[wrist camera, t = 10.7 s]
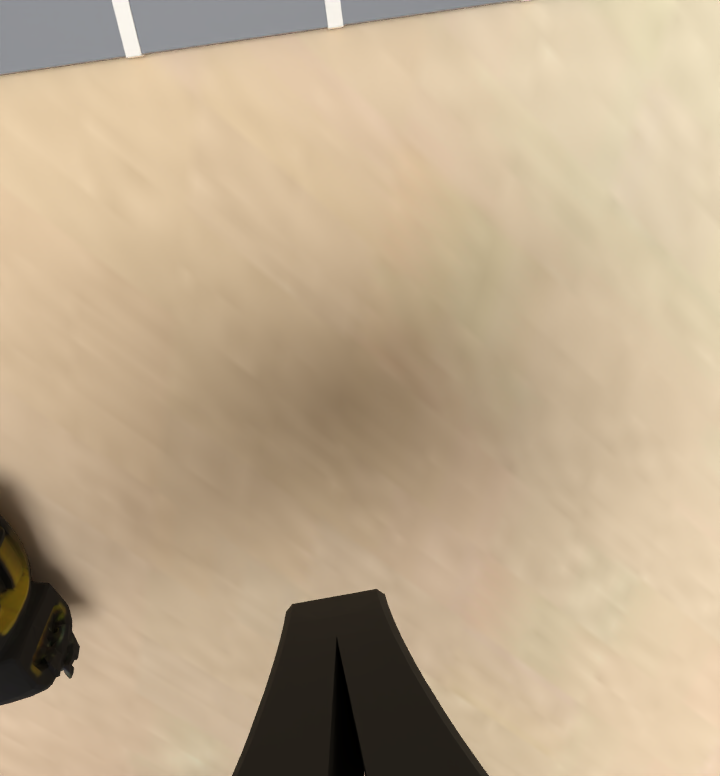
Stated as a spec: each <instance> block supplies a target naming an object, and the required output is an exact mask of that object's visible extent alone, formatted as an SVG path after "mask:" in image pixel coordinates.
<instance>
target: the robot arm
mask: <svg viewBox="0 0 720 776" xmlns="http://www.w3.org/2000/svg"><path fill="white" fill-rule="evenodd" d="M364 773H365V776H489V775H488V774H487V773H486V771H485V770H484V769H483V767H482V766H481V764H480V763H479V761H478V760H477V759H476V757H475V756H474V754H473V753H472V752H471V750H470V749H469V747H468V746H467V745H466V743H465V742H464V740H463V739H462V737H461V736H460V734H459V733H458V731H457V730H456V728H455V727H454V725H453V724H452V722H451V721H450V719H449V718H448V716H447V715H446V713H445V712H444V710H443V708H442V707H441V705H440V703H439V702H438V700H437V699H436V697H435V695H434V694H433V692H432V691H431V689H430V687H429V686H428V684H427V683H426V681H425V679H424V678H423V676H422V674H421V672H420V671H419V669H418V667H417V665H416V664H415V662H414V660H413V658H412V656H411V654H410V652H409V650H408V648H407V647H406V645H405V643H404V641H403V639H402V637H401V635H400V633H399V630H398V628H397V626H396V624H395V622H394V619H393V617H392V614H391V612H390V609H389V606H388V604H387V600H386V597H385V594H384V593H382V592H380V591H379V590H377V589H374V590H368V591H363V592H357V593H352V594H346V595H341V596H335V597H330V598H324V599H318V600H313V601H307V602H302V603H296V604H292V605H291V607H290V608H289V609H288V610H287V611H286V615H285V620H284V625H283V630H282V634H281V638H280V642H279V646H278V649H277V653H276V656H275V660H274V663H273V666H272V669H271V673H270V676H269V679H268V682H267V685H266V688H265V691H264V694H263V697H262V700H261V702H260V705H259V708H258V711H257V713H256V716H255V719H254V722H253V724H252V727H251V730H250V733H249V736H248V738H247V741H246V743H245V746H244V749H243V751H242V754H241V756H240V758H239V761H238V763H237V765H236V768H235V770H234V772H233V775H232V776H364Z"/></svg>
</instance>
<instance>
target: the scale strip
mask: <svg viewBox="0 0 720 776" xmlns="http://www.w3.org/2000/svg"><path fill="white" fill-rule="evenodd" d="M511 1H518V0H0V75H6V74H13V73H20V72H27V71H34V70H40V69H47V68H54V67H61V66H68V65H75V64H82V63H89V62H96V61H103V60H110V59H117V58H123V57H126V58H135V57H142V56H145V54H151V53H158V52H165V51H172V50H179V49H186V48H193V47H200V46H207V45H213V44H220V43H227V42H234V41H241V40H248V39H255V38H262V37H269V36H276V35H283V34H290V33H296V32H303V31H310V30H317V29H324V28H327V30H329V29H336V28H342V27H343V26H345V25H352V24H359V23H366V22H373V21H380V20H386V19H393V18H400V17H407V16H414V15H421V14H428V13H435V12H442V11H449V10H456V9H463V8H469V7H476V6H483V5H490V4H497V3H504V2H511ZM523 1H530V0H521V2H523Z"/></svg>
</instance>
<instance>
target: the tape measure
mask: <svg viewBox="0 0 720 776" xmlns="http://www.w3.org/2000/svg"><path fill="white" fill-rule="evenodd" d="M79 648H80V646H79V644H78V642H77V640H76V638H75V636H74V634H73V632H72V618H71V614H70V610H69V607H68V605H67V604H66V602H65V601H64V600H63V599H62V597H61V596H60V595H59V594H58V593H57V591H56V590H55V589H54V588H53V587H52V586H51V585H50V584H49V583H38V582H33V581H31V572H30V565H29V562H28V558H27V555H26V552H25V550H24V547H23V545H22V543H21V541H20V539H19V538H18V536H17V534H16V533H15V532H14V530H13V529H12V528H11V526H10V525H9V523H8V522H7V521H6V520H5V519H4V518H3V517H2V516H1V515H0V705H4V704H8V703H11V702H15V701H18V700H21V699H24V698H28V697H31V696H33V695H35V694H37V693H40V692H42V691H44V690H46V689H48V688H49V687H50V686H51V685H52V684H53V682H54V680H55V678H56V677H58V676H60V671H62V670H64V672H65V674H66V675H67V676H68V677H69V679H70V678H72V675H73V672H74V667H73V666H72V664H73V662H74V660H77V658H78V655H79Z"/></svg>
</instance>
